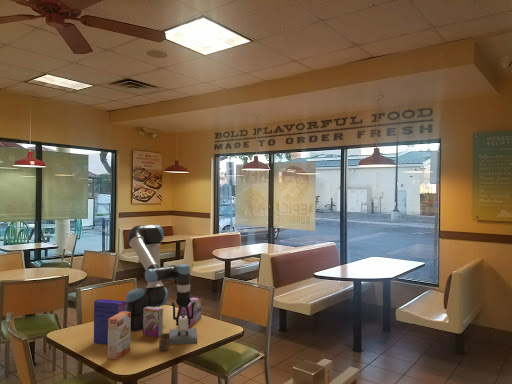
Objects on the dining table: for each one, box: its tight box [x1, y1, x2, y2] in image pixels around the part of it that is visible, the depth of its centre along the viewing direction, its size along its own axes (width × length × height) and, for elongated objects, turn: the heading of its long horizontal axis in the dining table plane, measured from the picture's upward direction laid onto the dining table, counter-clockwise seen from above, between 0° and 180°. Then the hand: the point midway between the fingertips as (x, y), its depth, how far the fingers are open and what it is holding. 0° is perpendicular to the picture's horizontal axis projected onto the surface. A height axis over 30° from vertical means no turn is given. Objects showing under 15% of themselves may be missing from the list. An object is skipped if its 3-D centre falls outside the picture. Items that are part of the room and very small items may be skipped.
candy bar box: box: [142, 306, 164, 338], centre depth 236 cm, size 11×5×16 cm, turn 71°
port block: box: [168, 327, 198, 345], centre depth 231 cm, size 16×16×3 cm
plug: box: [179, 315, 187, 336], centre depth 231 cm, size 4×6×11 cm
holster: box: [158, 332, 170, 352], centre depth 217 cm, size 5×10×6 cm, turn 10°
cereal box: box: [93, 298, 126, 346], centre depth 223 cm, size 17×5×24 cm, turn 76°
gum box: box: [179, 296, 202, 328], centre depth 262 cm, size 24×8×14 cm, turn 169°
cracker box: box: [106, 311, 131, 361], centre depth 207 cm, size 14×6×21 cm, turn 170°
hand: (183, 330), depth 231 cm, fingers closed on plug, 4 cm apart
